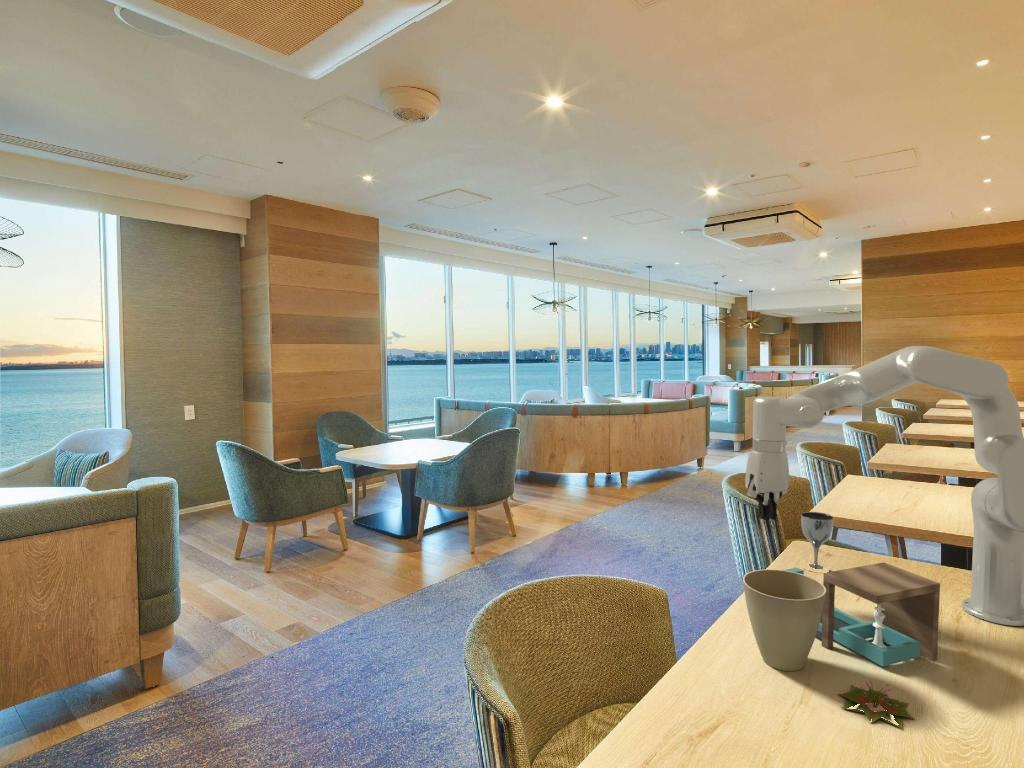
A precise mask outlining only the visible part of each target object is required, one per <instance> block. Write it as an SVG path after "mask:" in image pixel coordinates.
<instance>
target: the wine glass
mask: <svg viewBox="0 0 1024 768" xmlns="http://www.w3.org/2000/svg"><path fill="white" fill-rule="evenodd" d="M800 522H801V531H802V533H803V535H804V536H805V538H806V539H807V540H808V542H809V543H810V544H811V546H812V549H813V555H814V559H813V560H814V561H813V564H809V566H810V567H812V568H815V569H823V566H824V565H823V566H821V565H822V564H819V563H818V558H819V557H818V556H819V551H820V548H821V547H822V546H823V544H825V542H827V541H829V539H830V538H831V536H832V533H833V528H834V527H833V526H834V516H833V515H831V514H829V513H826V512H825V513H824V512H820V511H803V512H801V517H800ZM818 564H819V565H818Z"/></svg>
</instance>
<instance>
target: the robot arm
mask: <svg viewBox="0 0 1024 768" xmlns="http://www.w3.org/2000/svg"><path fill="white" fill-rule="evenodd" d="M1009 381H1010V380H1009V374H1008V373H1007V371H1006V369H1005V368H1004V367H1003V366H1002V365H1001V364H998V363H996V362H995V361H992V360H987V359H983V358H979V357H975V356H971V355H967V354H962V353H958V352H954V351H950V350H946V349H942V348H940V347H935V346H929V345H910V346H907V347H903V348H900V349H898V350H896V351H894V352H892V353H889V354H887V355H885V356H883V357H880V358H877V359H875V360H873V361H872V362H869V363H867V364H864V365H862V366H860V367H858V368H854V369H852V370H850V371H848V372H845V373H842V374H840V375H837V376H835V377H832V378H830V379H827V380H824V381H822V382H819V383H817V384H814V385H811V386H810V387H807V388H805V389H802V390H799V391H798V392H795V393H793V394H792V395H790V396H789V397H787V398H784V397H780V396H770V395H769V396H768V395H767V396H766V395H765V396H757V397H755V399H754V400H753V403H752V404H753V408H752V409H753V411H752V413H753V414H752V450H750V451H749V452H748V453H749V454H748V457H747V462H746V468H745V480H744V481H745V485H744V486H745V488H746V489H747V493H746V495H747V496H749V497H751V498H753V499H754V500H755V502H757V504H758V507H757V508H758V512H757V516H758V518H759V519H761V520H763V521H766V522H767V521H770V520H773V521H776V520H777V505H778V504H780V499H781V498H782V496H783V495H786V494H787V493H788V492H789V489H788V488H789V484H790V469H789V467H790V466H789V460H788V455H787V451H786V446H787V445H788V442H787V439H786V434H787V433H786V432H787V427H791V428H798V429H807V430H808V429H813V428H815V427H817V426H819V425H820V423H821V422H822V421H823V419H824V414H825V413H828V412H830V411H833V410H836V409H839V408H844V407H847V406H857V405H858V406H859V405H865V404H869V403H872V402H876V401H877V400H879V399H881V398H882V399H883V398H884V397H887V396H888V395H892V394H893V393H896V392H898V391H900V390H904V389H905V388H908V387H911V386H913V385H915V384H921V385H924V386H925V385H926V386H928V387H932V388H935V389H936V388H937V389H940V390H943V391H947V392H951V393H952V394H955V395H957V396H960V397H961V398H962V399H963V400H964V401H965V402H966V404H967V405H968V407H969V409H970V412H971V418H972V423H973V424H972V425H973V441H974V442H973V443H974V457H975V460H976V463H977V464H978V465H979V467H981V468H982V469H984V470H985V471H987V472H989V473H992V474H994V475H996V476H997V477H987V478H985V479H983V480H980V481H979V482H978V483H977V484H976V485H975V486H974V487H973V489H972V492H971V495H970V505H971V512H972V519H973V542H972V563H971V583H970V584H971V586H970V597H967V598H965V599H963V600H962V602H961V608H962V610H964V611H965V612H966V611H967V613H968V614H970V615H971V616H973V615H974V616H973V617H975V618H976V617H977V619H981V620H983V619H984V621H987V622H990V623H994V624H999V625H1005V626H1011V627H1012V626H1014V627H1024V434H1023V427H1022V426H1023V425H1022V418H1021V410H1020V406H1019V403H1018V400H1017V397H1016V396H1015V394H1014V393H1013V391H1012V390H1011V388H1010V387H1009Z"/></svg>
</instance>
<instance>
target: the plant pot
mask: <svg viewBox="0 0 1024 768" xmlns="http://www.w3.org/2000/svg"><path fill="white" fill-rule="evenodd" d="M785 570H786V569H772V568H771V569H769V568H767V569H764V568H763V569H755V570H752V571H749V572H747V573H745V574H744V575H743V577H742V582H743V583H742V584H743V585H742V586H743V591H744V596H745V597H744V598H745V603H746V608H747V613H748V617H749V621H750V625H751V629H752V632H753V634H754V635H753V636H754V638H755V641H756V642H755V643H756V644H757V647H758V650H759V653H760V655H761V658H762V660H763V662H764V663H765V664H766V663H767V664H766V665H768V666H769V667H770V668H773V669H776V670H778V671H779V670H780V671H784V672H796V671H799V670H801V669H802V668H803V667H804V665H805V663H806V661H807V659H808V656H809V654H810V652H811V650H812V648H813V644H814V642H815V640H816V638H815V637H816V634H817V631H818V627H819V624H820V620H821V616H822V612H823V606H824V601H825V596H826V588H825V586H824V585H823V582H820V581H819V580H817V579H815V578H813V577H811V576H808V575H806V574H804V575H803V574H800V573H796V572H791V571H785Z"/></svg>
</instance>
